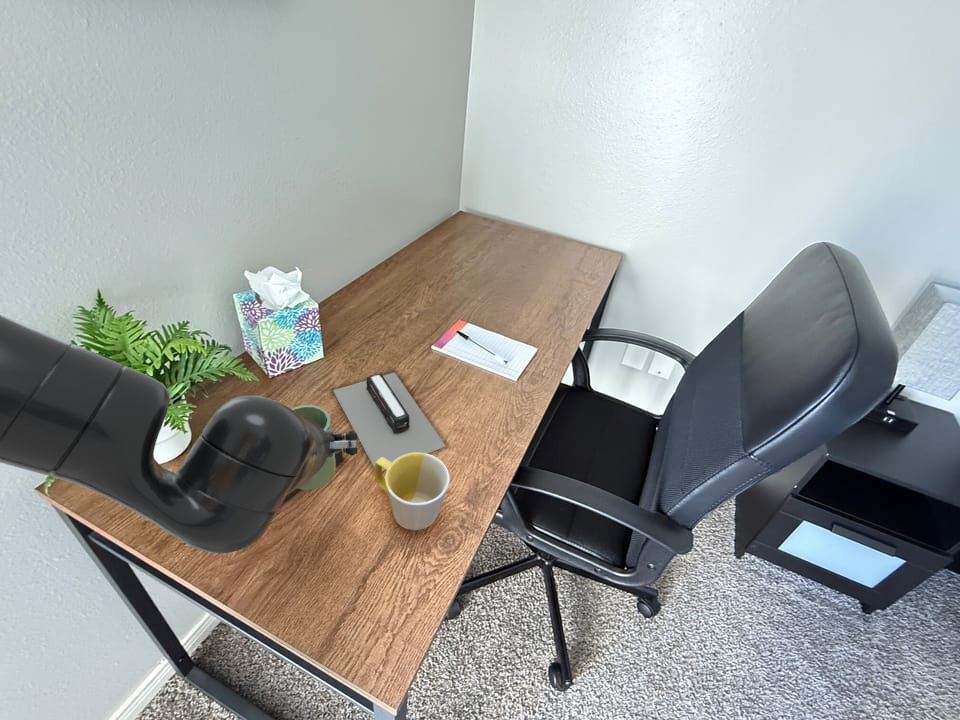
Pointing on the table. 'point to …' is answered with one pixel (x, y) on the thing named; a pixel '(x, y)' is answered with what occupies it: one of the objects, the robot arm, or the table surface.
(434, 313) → the table surface
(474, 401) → the table surface
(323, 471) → the tumbler
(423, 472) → the mug
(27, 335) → the robot arm
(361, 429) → the grey flat rectangular panel
